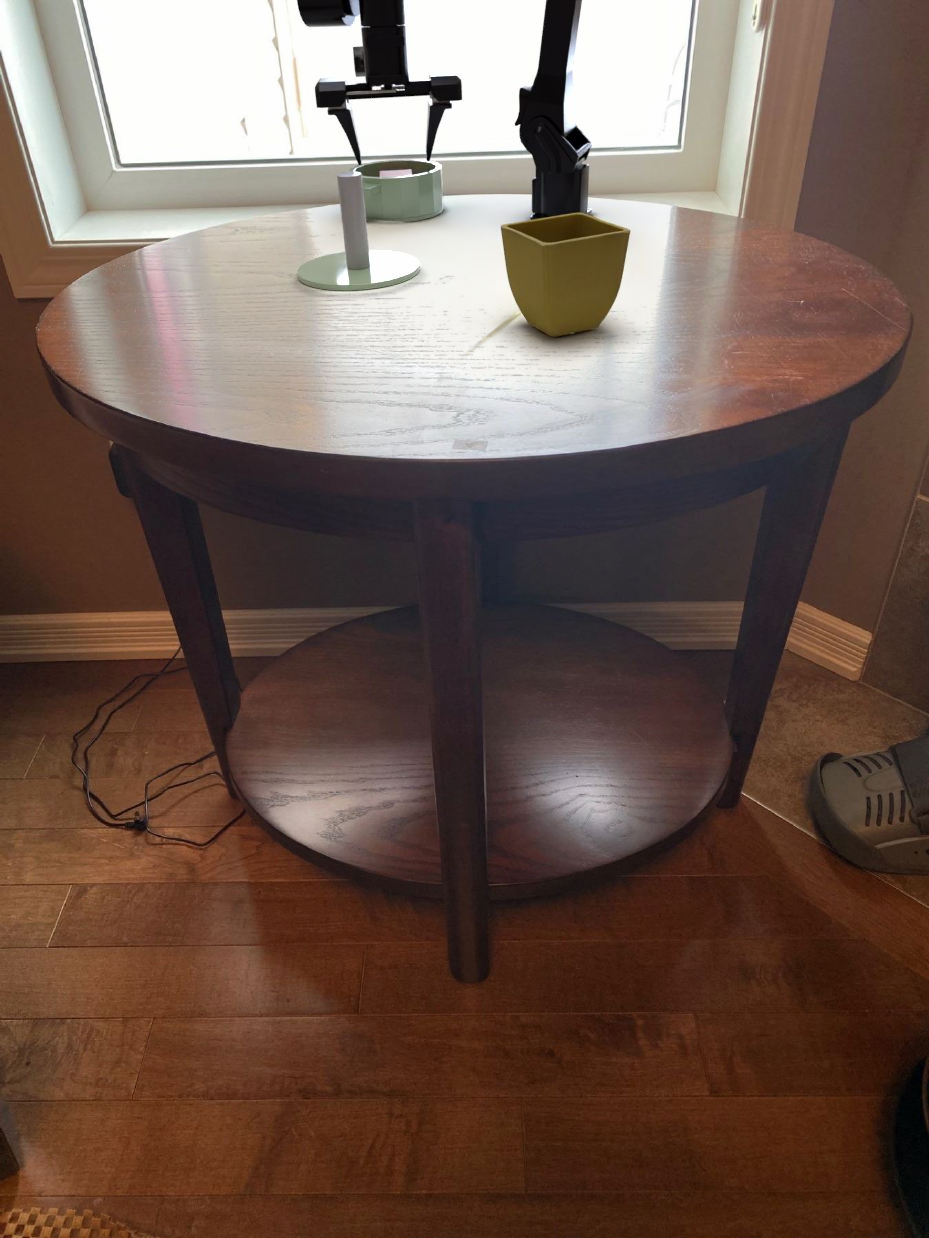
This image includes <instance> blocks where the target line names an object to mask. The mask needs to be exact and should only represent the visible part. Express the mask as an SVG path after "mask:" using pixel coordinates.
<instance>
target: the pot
mask: <svg viewBox="0 0 929 1238" xmlns="http://www.w3.org/2000/svg"><path fill="white" fill-rule="evenodd" d="M409 169H411V171H412V175H409V176H400V177H380V171H391V170H409ZM347 172H360V173H361V174H362V184H363V194H364V204H365V215H366V220H370V221H382V222H396V223H410V222H411V223H412V222H417V221H422V220H427V219H430V218H434V217H437V216H438V215H440V214H442V213H443V212H444V206H445V205H444V204H445V202H444V201H445V199H444V183H443V181H444V180H443V179H444V178H443V165H442V164H440V163H439V162H437V161H431V160H430V161H429V162H427V160H425V159H411V158H410V159H406V158H405V159H386V160H377V161H370V162H367V163H362V165H360V166H359V165H358V164H357V165H355V166H353V167H350V168H349V170H348V171H347Z"/></svg>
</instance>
